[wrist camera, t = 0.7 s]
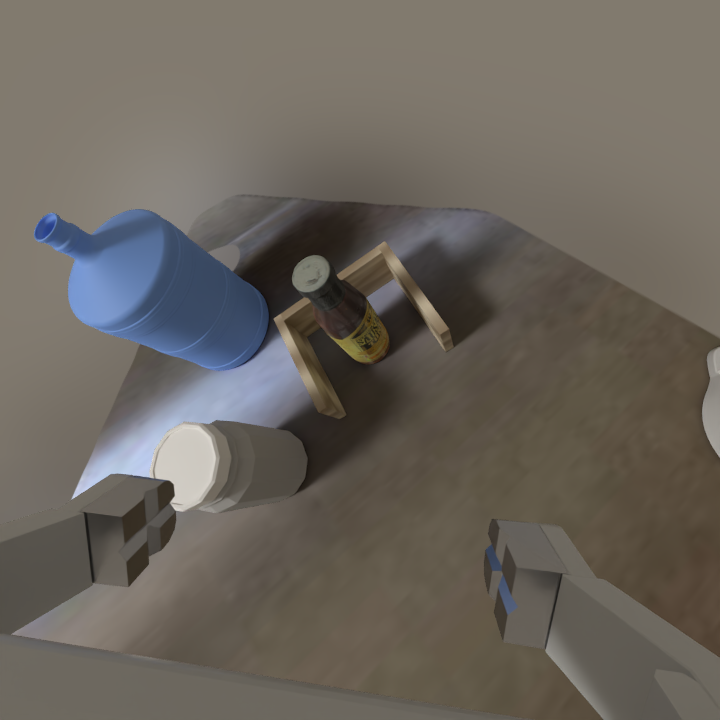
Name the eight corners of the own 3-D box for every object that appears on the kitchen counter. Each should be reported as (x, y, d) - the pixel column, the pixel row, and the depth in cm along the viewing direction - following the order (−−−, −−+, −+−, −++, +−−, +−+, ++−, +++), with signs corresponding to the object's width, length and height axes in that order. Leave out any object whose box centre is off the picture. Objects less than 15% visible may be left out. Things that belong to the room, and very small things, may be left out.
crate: (453, 347, 47) (449, 328, 40) (339, 419, 49) (318, 412, 43) (396, 268, 53) (384, 241, 46) (297, 335, 55) (273, 318, 49)
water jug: (285, 337, 56) (119, 231, 30) (208, 389, 58) (-8, 331, 32) (252, 269, 62) (91, 133, 36) (184, 318, 64) (-13, 222, 38)
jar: (266, 420, 53) (169, 401, 36) (321, 443, 49) (240, 433, 33) (241, 484, 51) (127, 494, 35) (295, 513, 47) (197, 539, 31)
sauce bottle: (385, 370, 49) (327, 315, 31) (345, 361, 51) (270, 305, 33) (397, 326, 50) (349, 249, 32) (358, 319, 52) (292, 243, 34)
